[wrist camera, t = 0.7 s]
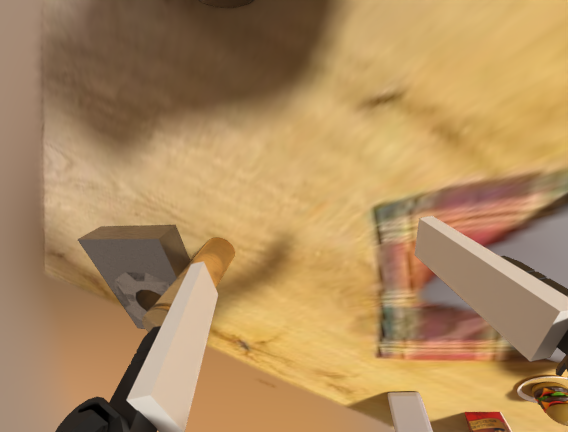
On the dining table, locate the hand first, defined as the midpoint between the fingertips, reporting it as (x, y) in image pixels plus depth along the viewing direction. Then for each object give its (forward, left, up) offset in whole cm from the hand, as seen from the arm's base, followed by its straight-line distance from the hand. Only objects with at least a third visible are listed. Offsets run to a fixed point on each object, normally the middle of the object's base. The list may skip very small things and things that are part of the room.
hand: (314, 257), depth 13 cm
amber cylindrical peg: (+11, -17, -15) cm, 25 cm away
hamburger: (+41, +38, -16) cm, 58 cm away
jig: (+17, -31, -15) cm, 38 cm away
